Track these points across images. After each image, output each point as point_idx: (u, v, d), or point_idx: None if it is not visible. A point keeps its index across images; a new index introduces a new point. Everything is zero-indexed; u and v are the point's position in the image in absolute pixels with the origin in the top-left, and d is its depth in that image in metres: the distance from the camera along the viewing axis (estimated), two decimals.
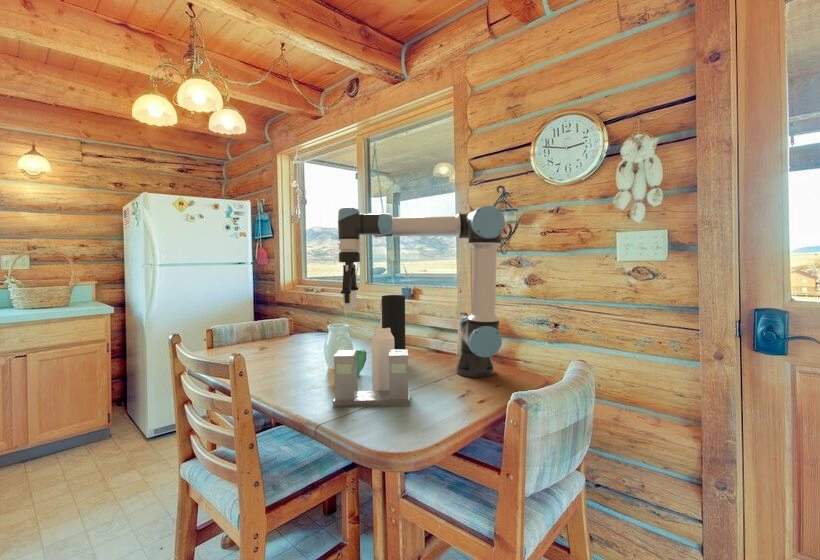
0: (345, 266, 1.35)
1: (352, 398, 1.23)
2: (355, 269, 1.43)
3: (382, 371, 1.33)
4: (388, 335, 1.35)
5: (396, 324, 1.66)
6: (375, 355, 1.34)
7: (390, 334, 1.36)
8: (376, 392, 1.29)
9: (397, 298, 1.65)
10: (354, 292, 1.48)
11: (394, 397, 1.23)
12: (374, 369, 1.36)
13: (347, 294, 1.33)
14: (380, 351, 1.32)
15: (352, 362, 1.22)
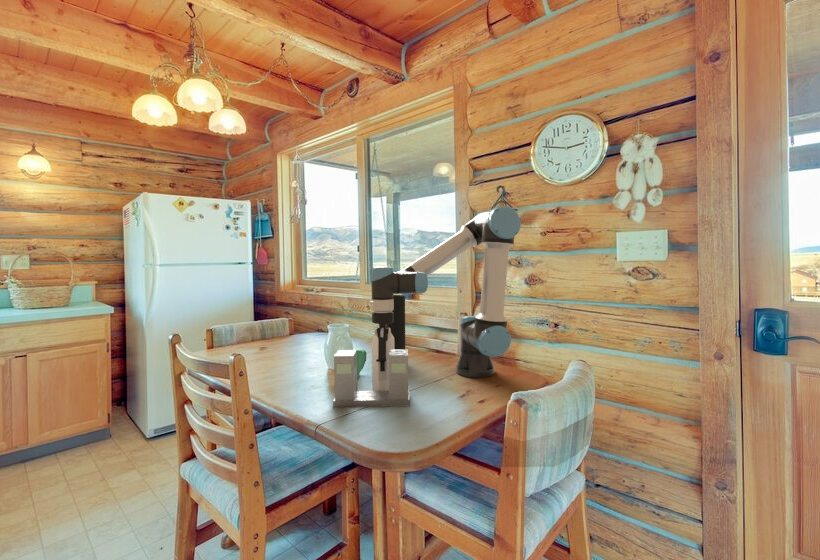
0: (380, 333, 1.29)
1: (352, 398, 1.23)
2: (388, 329, 1.37)
3: None
4: (388, 335, 1.35)
5: (396, 324, 1.66)
6: (375, 355, 1.34)
7: (390, 334, 1.36)
8: (376, 392, 1.29)
9: (397, 298, 1.65)
10: None
11: (394, 397, 1.23)
12: (374, 369, 1.36)
13: (383, 362, 1.30)
14: None
15: (352, 362, 1.22)
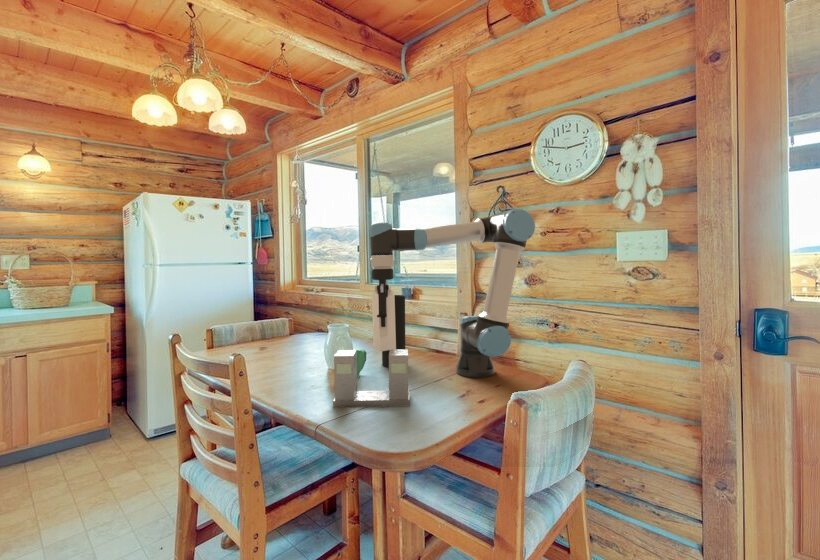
0: (380, 288, 1.28)
1: (352, 398, 1.23)
2: (388, 286, 1.36)
3: None
4: (388, 292, 1.35)
5: (396, 324, 1.66)
6: (375, 312, 1.34)
7: (390, 291, 1.35)
8: (376, 392, 1.29)
9: (397, 298, 1.65)
10: None
11: (394, 397, 1.23)
12: (374, 327, 1.35)
13: (383, 318, 1.29)
14: None
15: (352, 362, 1.22)
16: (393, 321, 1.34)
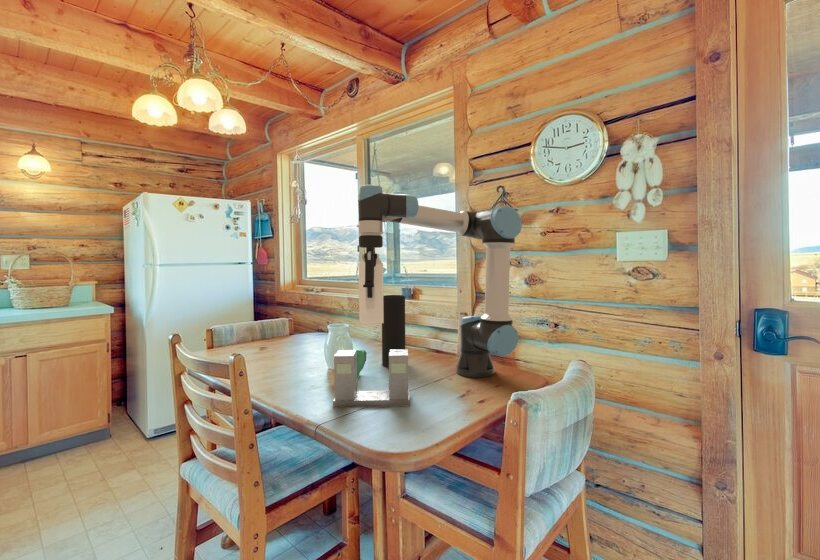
0: (367, 255, 1.18)
1: (352, 398, 1.23)
2: None
3: None
4: (376, 260, 1.24)
5: (396, 324, 1.66)
6: (362, 282, 1.23)
7: (379, 260, 1.25)
8: (376, 392, 1.29)
9: (397, 298, 1.65)
10: None
11: (394, 397, 1.23)
12: (361, 298, 1.24)
13: (370, 287, 1.19)
14: None
15: (352, 362, 1.22)
16: (380, 293, 1.23)
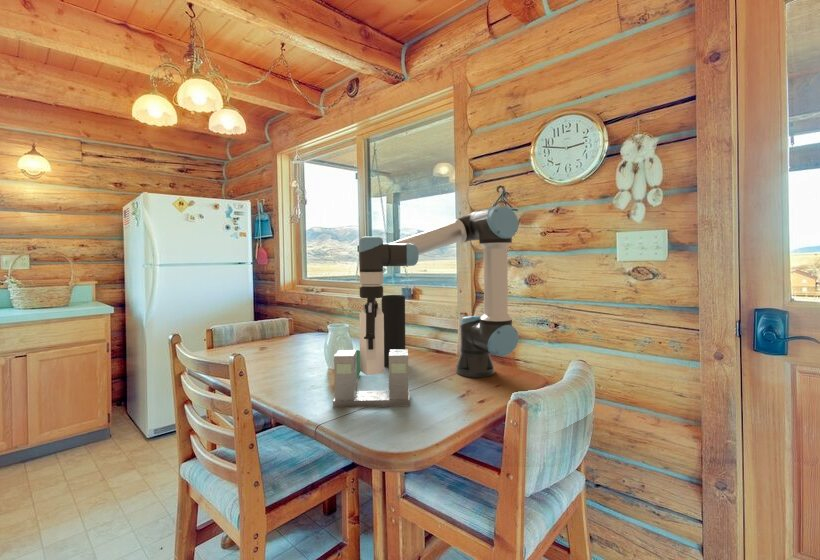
0: (368, 307, 1.18)
1: (352, 398, 1.23)
2: None
3: None
4: (377, 311, 1.25)
5: (396, 324, 1.66)
6: (363, 332, 1.24)
7: (379, 310, 1.25)
8: (376, 392, 1.29)
9: (397, 298, 1.65)
10: None
11: (394, 397, 1.23)
12: (362, 348, 1.25)
13: (371, 340, 1.20)
14: None
15: (352, 362, 1.22)
16: (381, 343, 1.24)
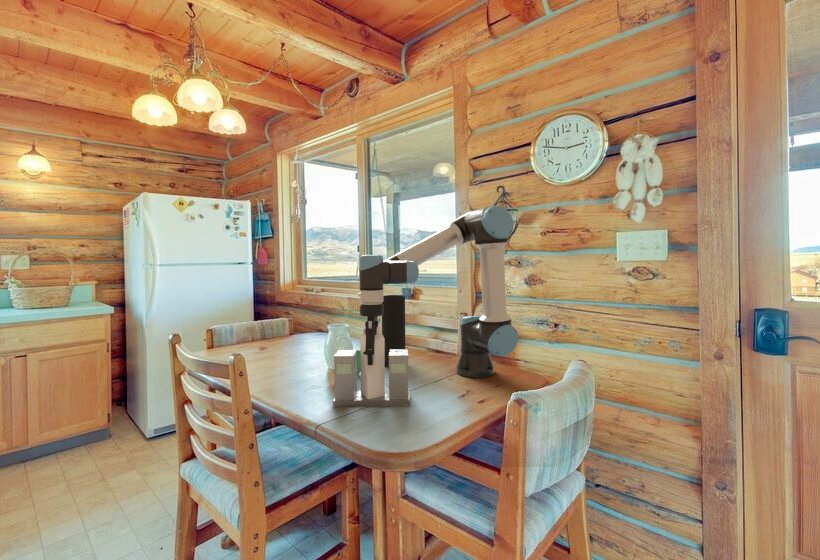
0: (368, 323, 1.19)
1: (352, 398, 1.23)
2: None
3: None
4: (377, 334, 1.25)
5: (396, 324, 1.66)
6: (364, 356, 1.24)
7: (380, 334, 1.26)
8: None
9: (397, 298, 1.65)
10: None
11: (394, 397, 1.23)
12: (362, 371, 1.26)
13: (370, 355, 1.17)
14: None
15: (352, 362, 1.22)
16: (382, 367, 1.25)
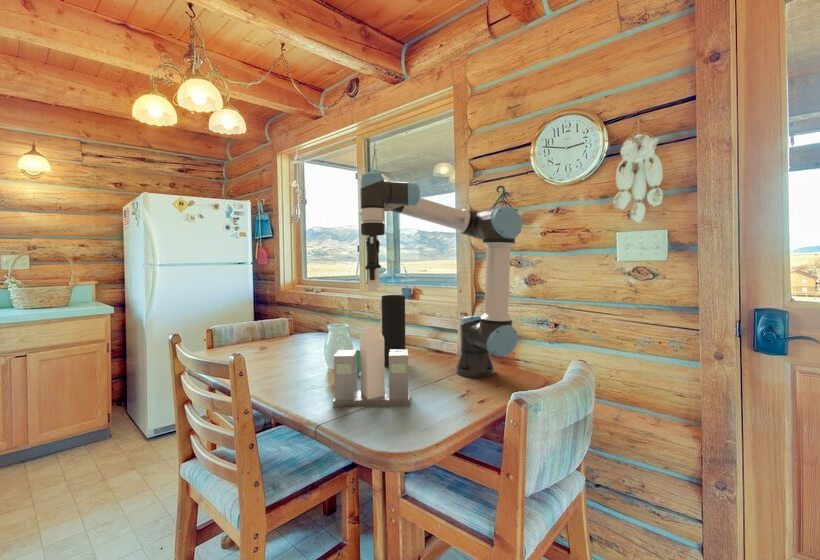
0: (370, 238, 1.18)
1: (352, 398, 1.23)
2: (379, 243, 1.26)
3: (371, 374, 1.23)
4: (377, 334, 1.25)
5: (396, 324, 1.66)
6: (363, 356, 1.25)
7: (380, 334, 1.26)
8: None
9: (397, 298, 1.65)
10: (377, 270, 1.32)
11: (394, 397, 1.23)
12: (362, 372, 1.26)
13: (372, 270, 1.17)
14: (368, 352, 1.22)
15: (352, 362, 1.22)
16: (382, 367, 1.25)
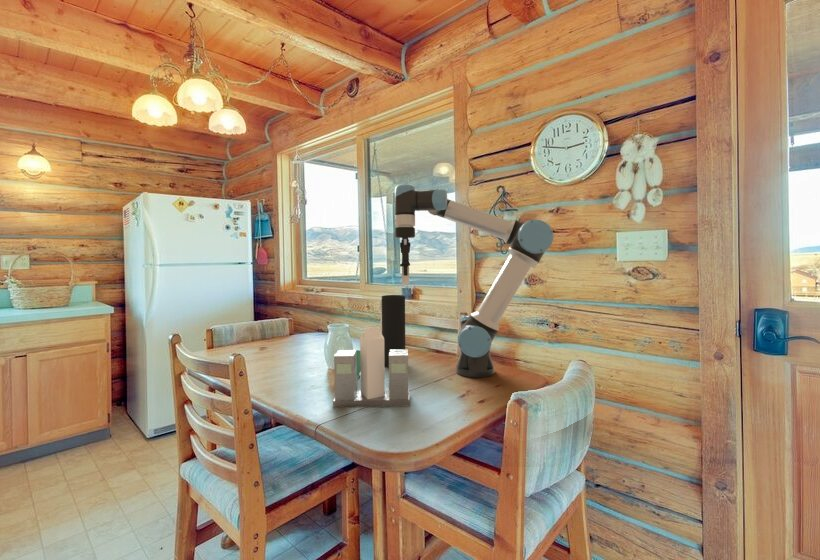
0: (403, 240, 1.40)
1: (352, 398, 1.23)
2: None
3: (371, 374, 1.23)
4: (377, 334, 1.25)
5: (396, 324, 1.66)
6: (363, 356, 1.25)
7: (380, 334, 1.26)
8: None
9: (397, 298, 1.65)
10: None
11: (394, 397, 1.23)
12: (362, 372, 1.26)
13: (406, 267, 1.39)
14: (368, 352, 1.22)
15: (352, 362, 1.22)
16: (382, 367, 1.25)
